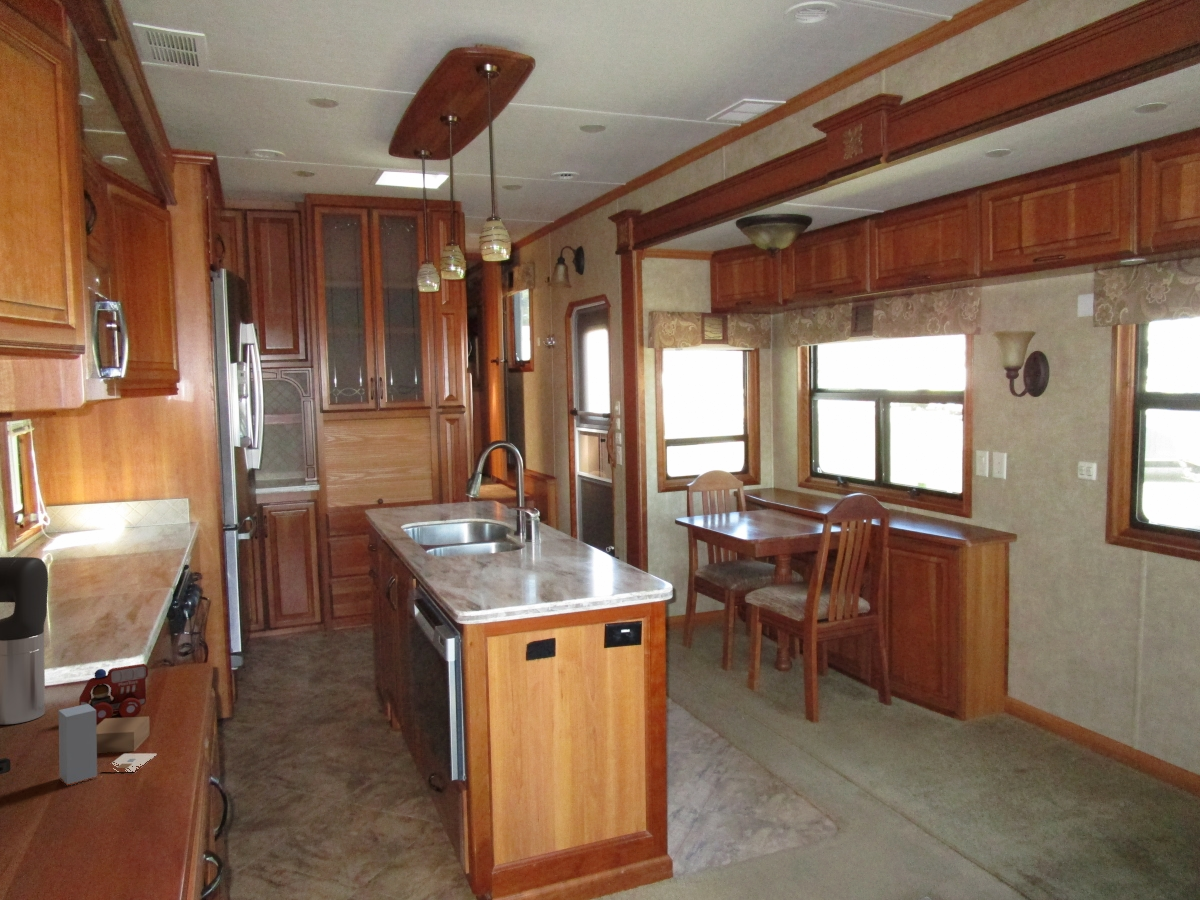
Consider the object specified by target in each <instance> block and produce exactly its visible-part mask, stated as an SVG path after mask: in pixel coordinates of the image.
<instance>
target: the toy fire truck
mask: <svg viewBox="0 0 1200 900" xmlns="http://www.w3.org/2000/svg"><path fill="white" fill-rule="evenodd" d="M148 675H149V667H148V665H147V664H146V663H138V664H134V665H133V664H132V665H126V666H119V667H113V668H110V669H109V670H108V672H107V671H106V670H105V669H103V668H99V669H97V670H95V672H94V677H92V678H89V679H88V681H87V683H86V684H85V687H84V688H83V690H82V691H81V694H80V696H79V700H78V701H79V705H78V706H80V705H85V704H89V705H90V706H92V707H93V708H94V709H95V710H96V724H99V723H101V722H102V721H103V720H104V719H106V718H113V714H114V711H118V712H119V715H120V716H121V718H126V717H138V715H139V714H140V713H141V711H142V707H143V706H144V705H145V704H146V702H147V686H146V685H147V684H146V683H147V680H146V679H147V677H148ZM109 688H110V689H109ZM109 690H110V691H109ZM91 692H92V693H91ZM109 693H110V695H109ZM92 696H93V697H92ZM111 697H112V698H113V699H112V698H111Z"/></svg>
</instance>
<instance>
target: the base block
mask: <svg viewBox="0 0 1200 900" xmlns="http://www.w3.org/2000/svg"><path fill="white" fill-rule="evenodd" d="M96 731H97V754H108V753H107V752H110V753H111V752H112V753H122V752H123V753H127V752H128V753H130V752H135V751H136V750H137V749H139V747H140V746H141V745H142V744H143V742H145V741H146V739H148V737H149V736H150V716H149V715H148V716H136V717H126V718H124V717H111V718H106V719H104V720H103V721H102V722H101V723H97V724H96ZM110 753H109V754H110Z"/></svg>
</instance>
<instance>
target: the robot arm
mask: <svg viewBox="0 0 1200 900" xmlns="http://www.w3.org/2000/svg"><path fill="white" fill-rule="evenodd" d="M48 588H49V573H48V568H47V565H46V563H45V562H44V560H42V559H41V558H38V557H35V556H34V557H31V556H26V557H25V556H1V557H0V603H14V609H13V613H12V614H11V615H9V616H7V617H4V618H0V725H14V724H15V725H16V724H21V723H26V722H29V721H33V720H36V719H38V718H40V717H42V716H44V714H45V713H46V700H45V699H46V697H45V696H46V686H45V685H46V683H45V682H46V681H45V678H46V677H45V676H46V674H45V669H46V668H45V623H46V617H47V613H48V591H49V589H48ZM10 771H11V759H10V758H9V757H3V758H0V775H3V774H6V773H9V772H10Z"/></svg>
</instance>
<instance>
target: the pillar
mask: <svg viewBox="0 0 1200 900" xmlns="http://www.w3.org/2000/svg"><path fill="white" fill-rule="evenodd" d="M89 704H90V703H89ZM89 704H85V705H80V706H79V705H76V706H71V707H66V708H62V709H58V751H59V752H58V753H59V755H58V756H59V757H58V760H59V764H58V765H59V778H60V777H61V778H62V779H63V780H64V782H65V783H67V784H70V783H74V782H78V781H82V780H84V779H88V778H92V777H96V776H97V777H98V753H97V731H96V726H97V723H96V710H95V709H94V708H93V707H92V706H90V705H89Z"/></svg>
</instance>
